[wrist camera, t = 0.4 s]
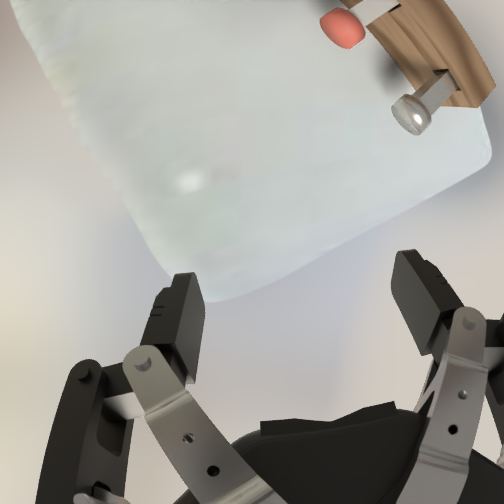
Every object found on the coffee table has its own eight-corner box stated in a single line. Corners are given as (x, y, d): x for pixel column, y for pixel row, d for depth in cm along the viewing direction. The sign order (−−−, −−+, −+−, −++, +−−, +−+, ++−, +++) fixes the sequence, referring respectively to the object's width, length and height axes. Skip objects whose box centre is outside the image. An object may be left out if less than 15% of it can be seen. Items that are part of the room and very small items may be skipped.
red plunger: (342, 52, 25) (359, 43, 21) (314, 23, 24) (328, 10, 20) (401, 9, 23) (421, 0, 19) (378, -17, 21) (395, -29, 17)
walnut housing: (425, 105, 33) (477, 108, 23) (336, -3, 26) (372, -36, 16) (445, 86, 32) (496, 85, 22) (362, -19, 25) (400, -48, 15)
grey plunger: (405, 133, 29) (427, 136, 25) (385, 104, 28) (406, 103, 24) (454, 84, 27) (477, 83, 23) (437, 56, 25) (459, 53, 21)
